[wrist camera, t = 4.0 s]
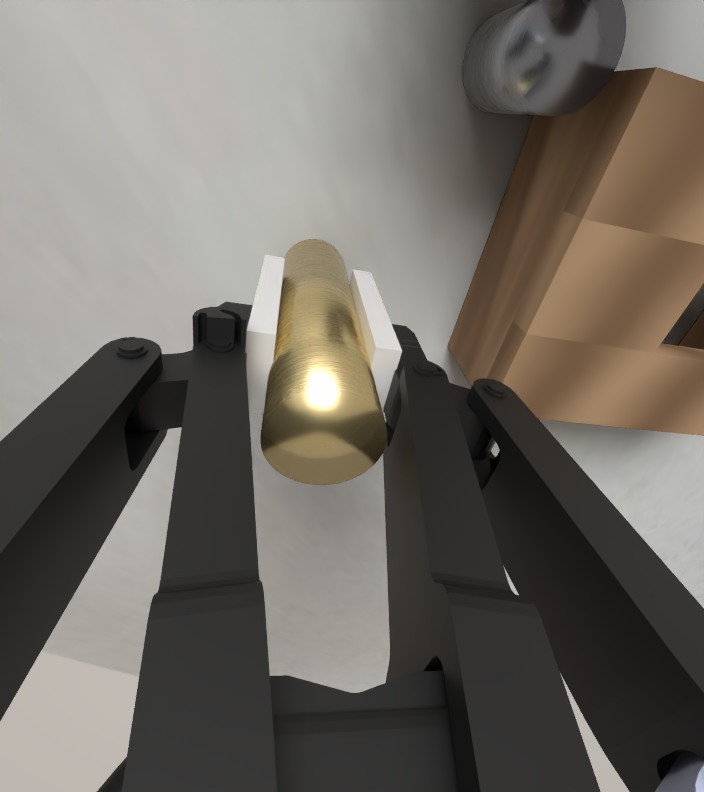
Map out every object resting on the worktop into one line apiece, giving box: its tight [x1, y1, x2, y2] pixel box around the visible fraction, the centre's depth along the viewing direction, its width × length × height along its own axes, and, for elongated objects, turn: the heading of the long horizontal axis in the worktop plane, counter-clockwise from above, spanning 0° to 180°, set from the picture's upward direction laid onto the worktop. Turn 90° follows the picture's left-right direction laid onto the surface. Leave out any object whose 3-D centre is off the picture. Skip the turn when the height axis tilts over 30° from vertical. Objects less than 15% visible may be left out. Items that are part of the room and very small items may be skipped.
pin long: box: [261, 239, 387, 485], centre depth 14 cm, size 3×3×12 cm
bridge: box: [448, 67, 704, 436], centre depth 18 cm, size 16×12×6 cm
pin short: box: [462, 0, 626, 116], centre depth 13 cm, size 3×3×5 cm
